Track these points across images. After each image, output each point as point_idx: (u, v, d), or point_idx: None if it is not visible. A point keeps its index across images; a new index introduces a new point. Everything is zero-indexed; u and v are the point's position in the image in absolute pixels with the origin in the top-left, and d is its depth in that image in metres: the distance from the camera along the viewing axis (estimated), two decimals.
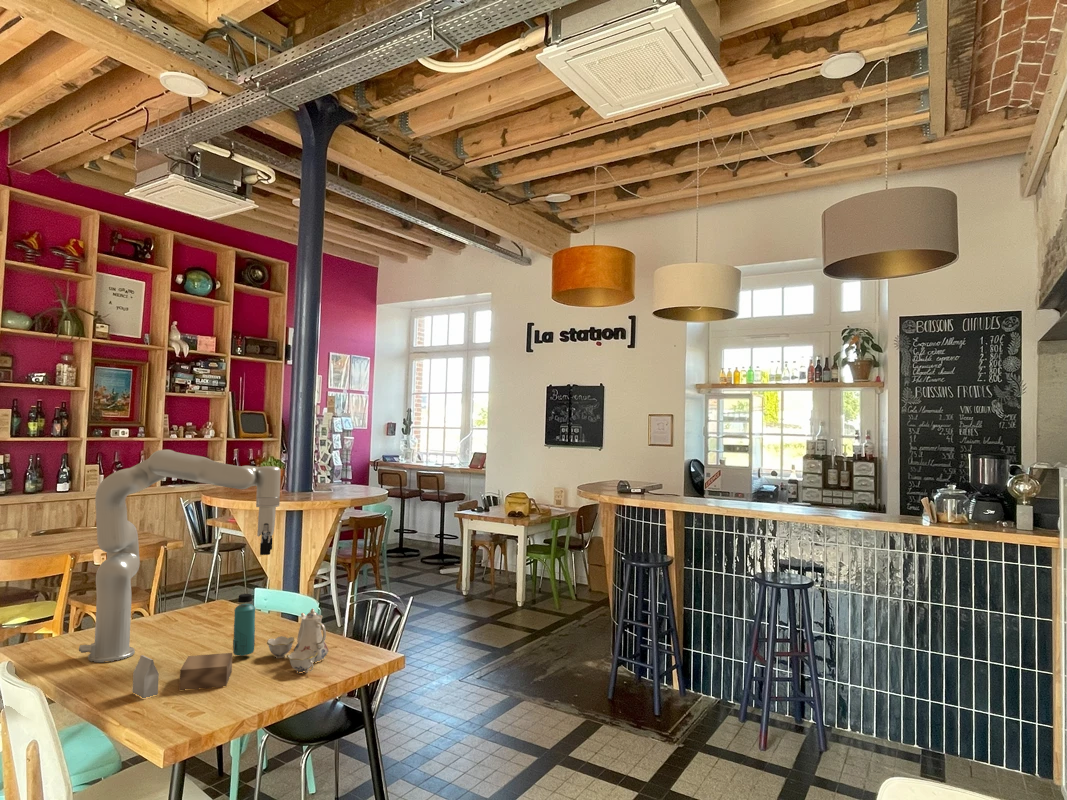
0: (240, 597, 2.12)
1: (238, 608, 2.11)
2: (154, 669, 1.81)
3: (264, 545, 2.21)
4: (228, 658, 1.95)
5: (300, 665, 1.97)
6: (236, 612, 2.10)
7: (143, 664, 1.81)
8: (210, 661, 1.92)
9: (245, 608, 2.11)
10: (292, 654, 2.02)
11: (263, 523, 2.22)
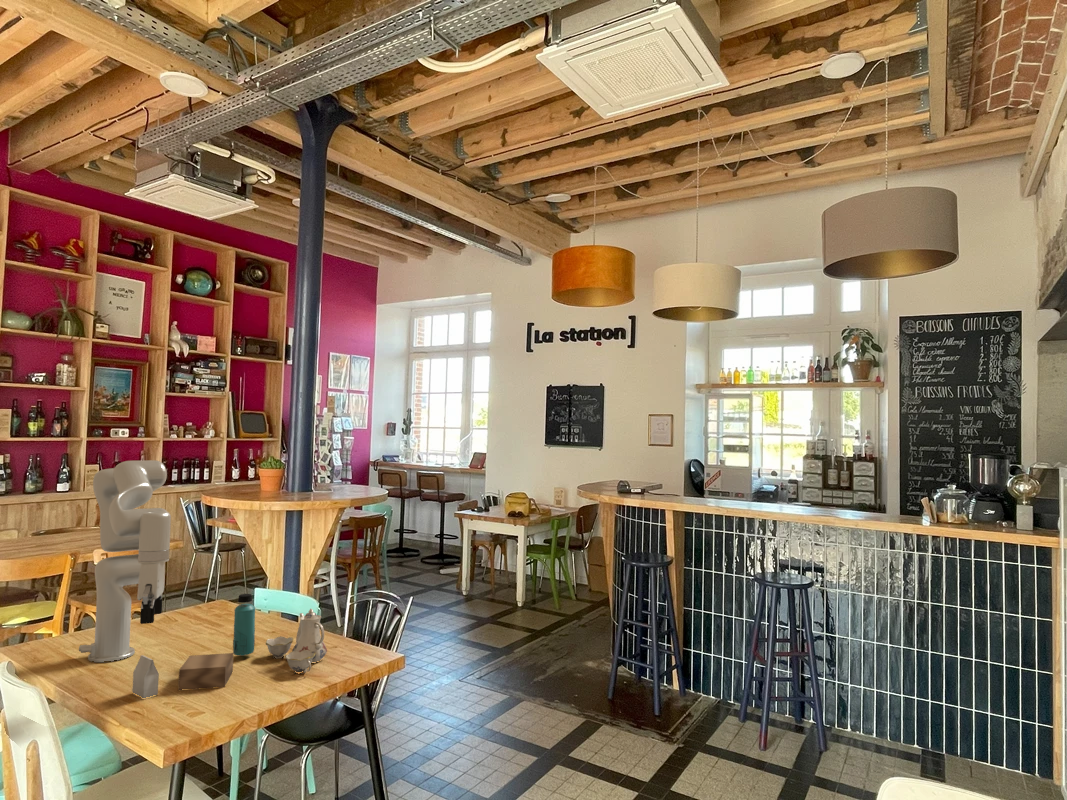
0: (240, 597, 2.12)
1: (238, 608, 2.11)
2: (154, 669, 1.81)
3: (145, 612, 1.78)
4: (228, 658, 1.94)
5: (298, 665, 1.97)
6: (236, 612, 2.10)
7: (143, 664, 1.81)
8: (210, 661, 1.92)
9: (245, 608, 2.11)
10: (290, 654, 2.02)
11: (145, 584, 1.79)
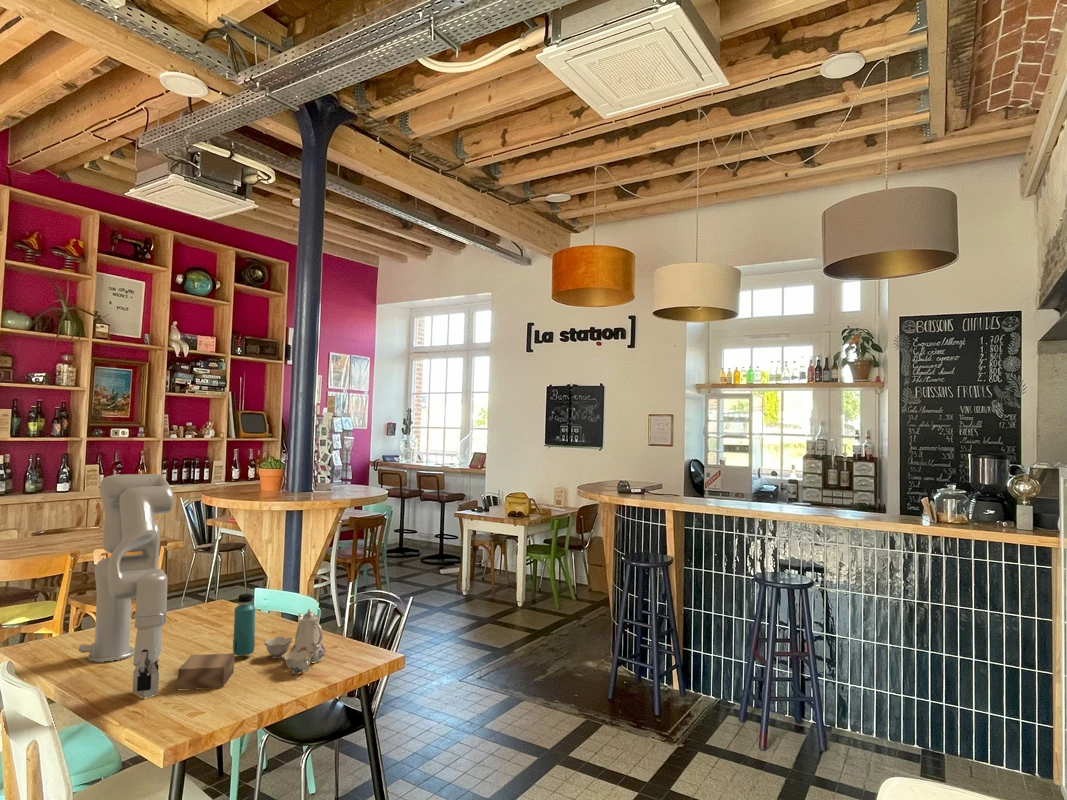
0: (240, 597, 2.12)
1: (238, 608, 2.11)
2: (154, 669, 1.81)
3: (142, 679, 1.77)
4: (228, 659, 1.94)
5: (296, 666, 1.97)
6: (236, 612, 2.10)
7: None
8: (210, 661, 1.92)
9: (245, 608, 2.11)
10: (288, 655, 2.02)
11: (141, 650, 1.77)
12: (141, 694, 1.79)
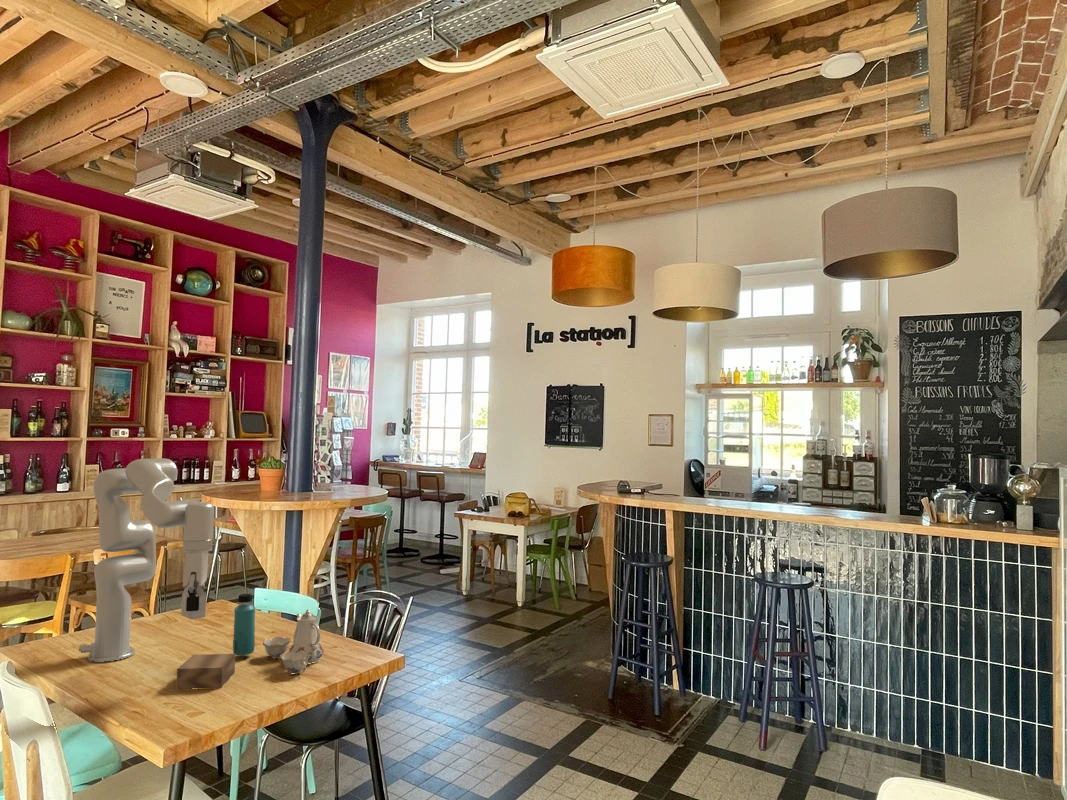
0: (240, 597, 2.12)
1: (238, 608, 2.11)
2: (202, 591, 1.89)
3: (191, 600, 1.86)
4: (228, 659, 1.94)
5: (293, 666, 1.96)
6: (236, 612, 2.10)
7: None
8: (210, 661, 1.91)
9: (245, 608, 2.11)
10: (286, 655, 2.01)
11: (190, 572, 1.86)
12: (190, 615, 1.88)
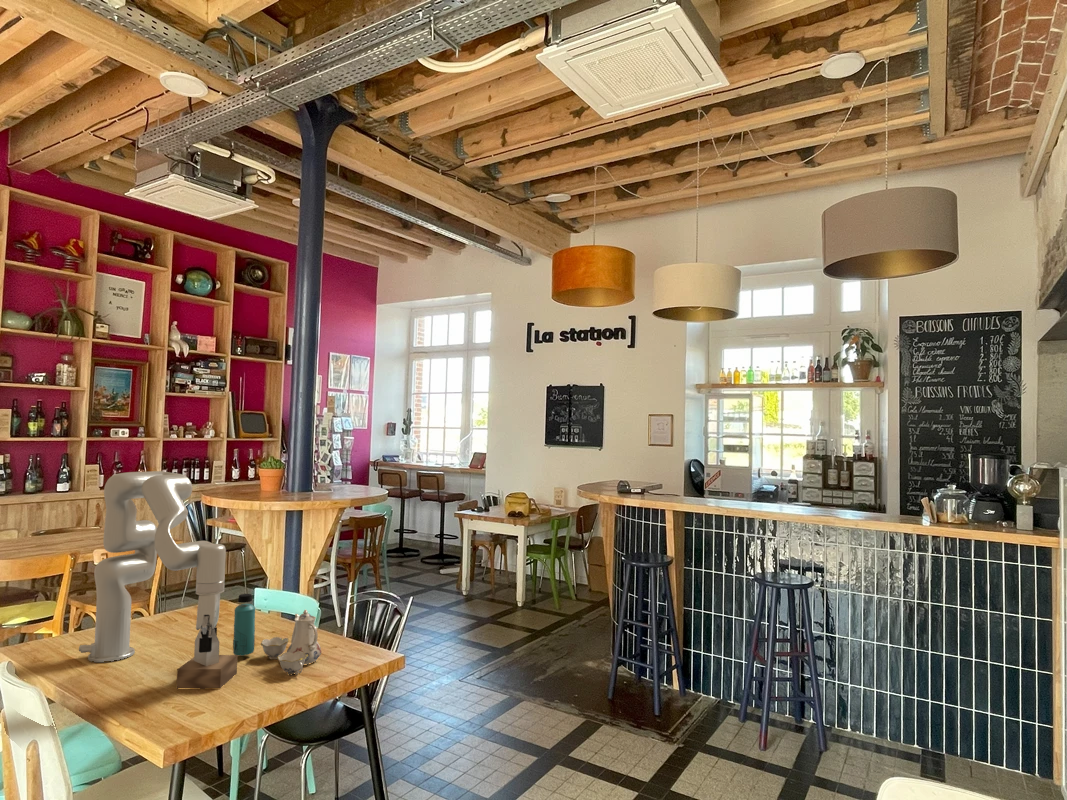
0: (240, 597, 2.12)
1: (238, 608, 2.11)
2: (215, 637, 1.91)
3: (203, 641, 1.87)
4: (229, 660, 1.93)
5: (289, 667, 1.96)
6: (236, 612, 2.10)
7: None
8: None
9: (245, 608, 2.11)
10: (283, 655, 2.01)
11: (203, 614, 1.88)
12: (203, 661, 1.90)
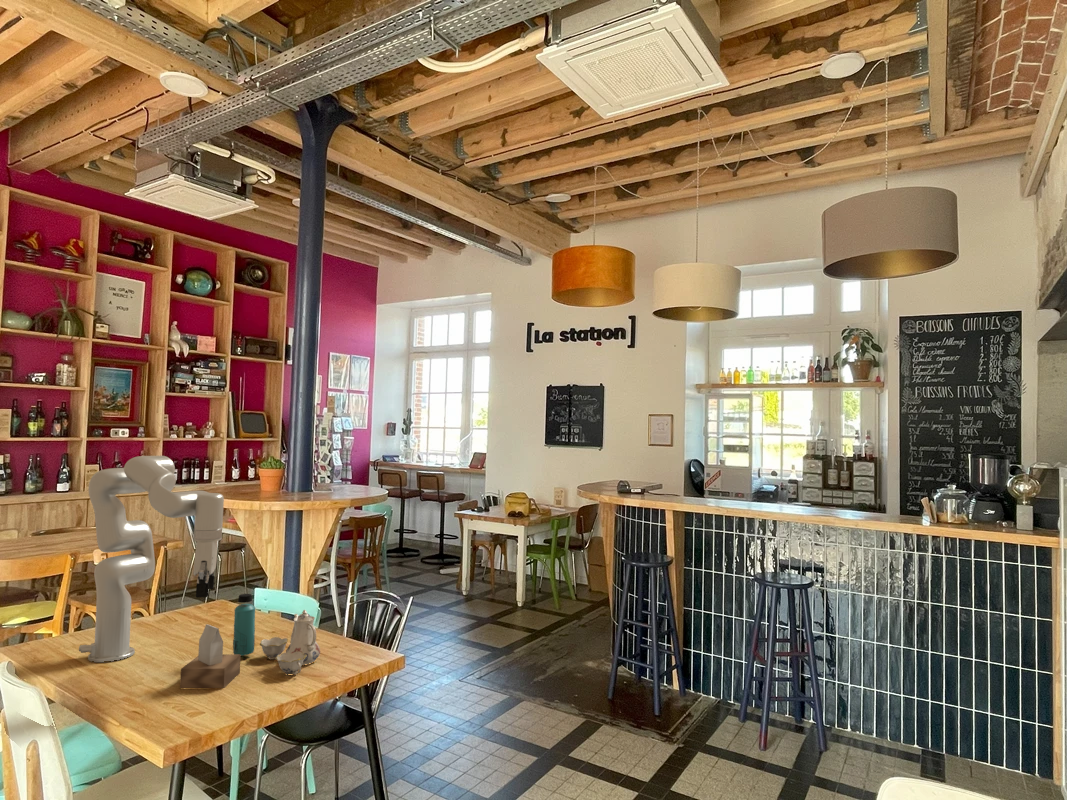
0: (240, 597, 2.12)
1: (238, 608, 2.11)
2: (219, 637, 1.91)
3: (200, 587, 1.90)
4: (232, 660, 1.93)
5: (288, 667, 1.96)
6: (236, 612, 2.10)
7: (209, 632, 1.92)
8: None
9: (245, 608, 2.11)
10: (282, 656, 2.01)
11: (200, 560, 1.91)
12: (207, 660, 1.90)
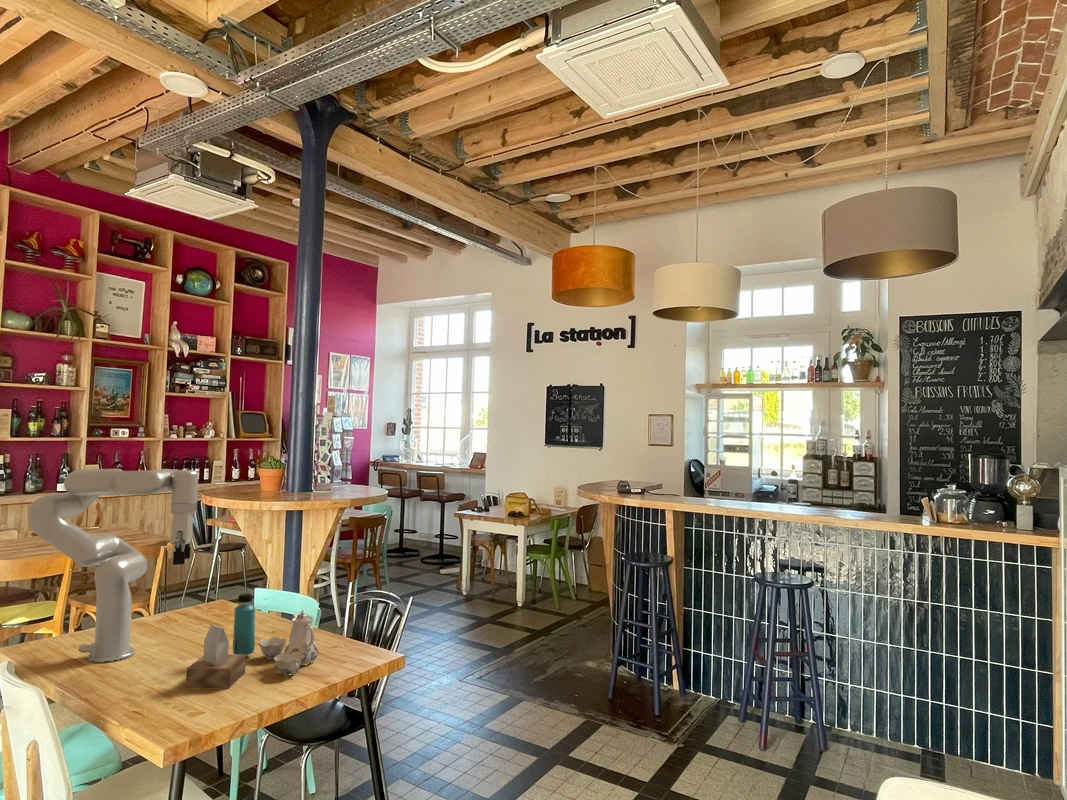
0: (240, 597, 2.12)
1: (238, 608, 2.11)
2: (224, 637, 1.92)
3: (177, 554, 2.08)
4: (237, 660, 1.94)
5: (285, 667, 1.95)
6: (236, 612, 2.10)
7: (214, 632, 1.92)
8: None
9: (245, 608, 2.11)
10: (279, 656, 2.00)
11: (177, 531, 2.09)
12: (213, 660, 1.90)
